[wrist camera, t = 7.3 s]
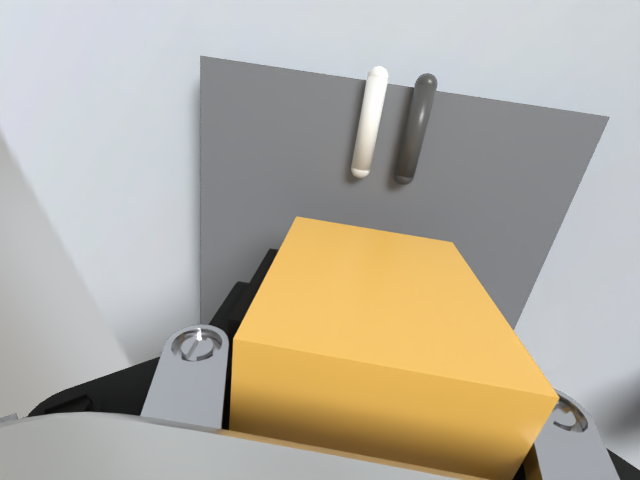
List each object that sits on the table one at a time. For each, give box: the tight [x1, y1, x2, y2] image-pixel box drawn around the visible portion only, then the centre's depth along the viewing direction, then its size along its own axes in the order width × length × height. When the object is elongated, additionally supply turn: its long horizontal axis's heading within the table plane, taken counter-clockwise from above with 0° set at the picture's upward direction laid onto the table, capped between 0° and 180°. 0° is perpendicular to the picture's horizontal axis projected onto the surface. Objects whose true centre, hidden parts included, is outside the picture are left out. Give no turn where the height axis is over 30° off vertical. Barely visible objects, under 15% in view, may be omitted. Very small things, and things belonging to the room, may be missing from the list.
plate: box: [200, 56, 610, 330], centre depth 13 cm, size 14×14×6 cm
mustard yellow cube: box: [229, 216, 560, 480], centre depth 9 cm, size 5×5×6 cm
